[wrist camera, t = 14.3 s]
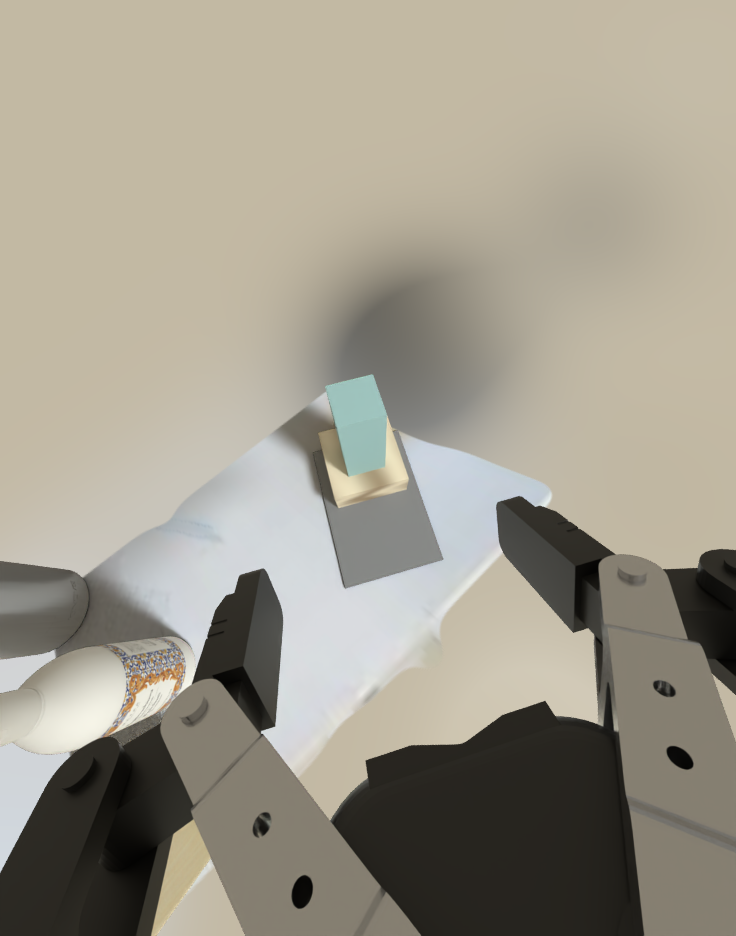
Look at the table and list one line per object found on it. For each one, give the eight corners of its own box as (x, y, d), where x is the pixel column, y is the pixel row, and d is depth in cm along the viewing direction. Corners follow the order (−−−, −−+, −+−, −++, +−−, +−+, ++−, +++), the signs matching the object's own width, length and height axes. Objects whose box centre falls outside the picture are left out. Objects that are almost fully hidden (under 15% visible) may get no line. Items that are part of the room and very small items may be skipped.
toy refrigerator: (133, 786, 34) (-195, 1022, 15) (202, 738, 35) (-15, 896, 16) (160, 881, 31) (-197, 1325, 12) (234, 825, 33) (20, 1143, 13)
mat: (345, 588, 40) (345, 588, 40) (313, 453, 47) (312, 452, 47) (442, 559, 41) (443, 559, 41) (397, 431, 48) (397, 430, 48)
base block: (338, 508, 44) (334, 499, 40) (322, 446, 47) (317, 432, 43) (406, 489, 44) (408, 478, 41) (386, 429, 48) (386, 414, 44)
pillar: (348, 476, 41) (336, 428, 30) (339, 444, 43) (325, 386, 32) (385, 466, 41) (387, 414, 30) (374, 434, 43) (372, 374, 32)
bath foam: (167, 723, 36) (-60, 846, 17) (120, 683, 37) (-134, 757, 19) (211, 658, 38) (50, 706, 20) (165, 623, 40) (-25, 636, 21)
